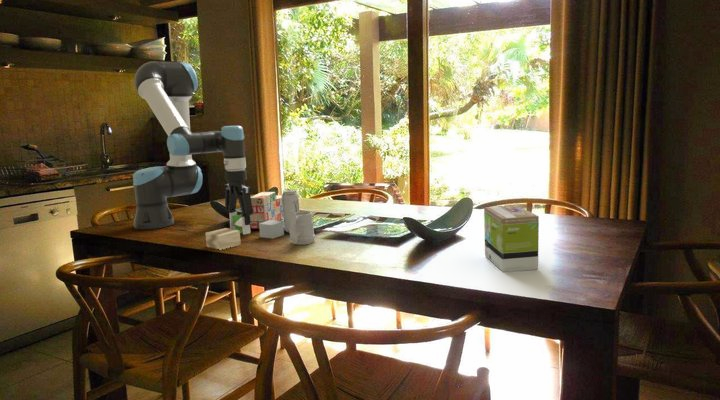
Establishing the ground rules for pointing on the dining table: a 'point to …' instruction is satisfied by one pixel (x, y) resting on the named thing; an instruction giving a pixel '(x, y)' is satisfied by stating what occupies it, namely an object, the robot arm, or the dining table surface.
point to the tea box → (511, 238)
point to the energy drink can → (289, 206)
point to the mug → (301, 227)
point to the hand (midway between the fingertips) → (240, 231)
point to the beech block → (223, 238)
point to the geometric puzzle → (238, 222)
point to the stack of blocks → (266, 208)
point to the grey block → (271, 229)
